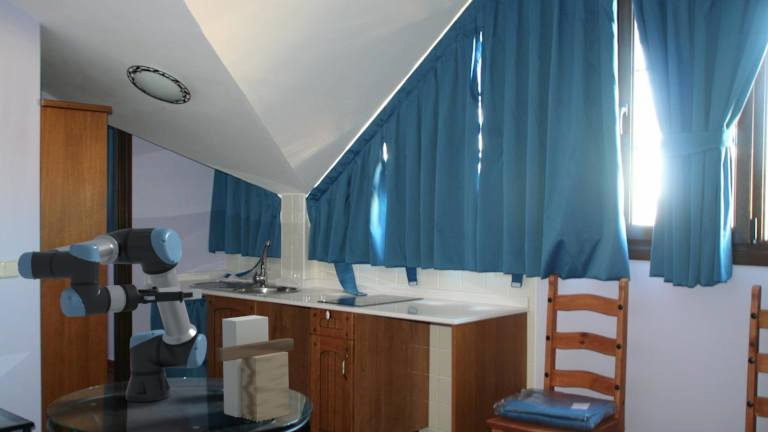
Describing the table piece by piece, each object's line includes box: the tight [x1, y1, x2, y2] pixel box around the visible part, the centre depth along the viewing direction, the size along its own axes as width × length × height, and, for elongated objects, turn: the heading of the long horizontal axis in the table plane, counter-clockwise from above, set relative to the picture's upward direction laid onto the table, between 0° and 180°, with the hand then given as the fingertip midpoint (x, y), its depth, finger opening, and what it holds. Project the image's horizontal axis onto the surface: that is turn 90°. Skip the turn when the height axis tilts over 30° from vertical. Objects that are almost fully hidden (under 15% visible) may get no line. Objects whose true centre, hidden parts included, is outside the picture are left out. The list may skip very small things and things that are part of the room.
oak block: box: [241, 351, 290, 423], centre depth 228 cm, size 8×12×20 cm, turn 134°
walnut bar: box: [216, 337, 295, 362], centre depth 226 cm, size 4×26×4 cm, turn 134°
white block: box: [221, 314, 270, 418], centre depth 234 cm, size 8×12×30 cm, turn 134°
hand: (189, 292), depth 218 cm, fingers open, 13 cm apart
